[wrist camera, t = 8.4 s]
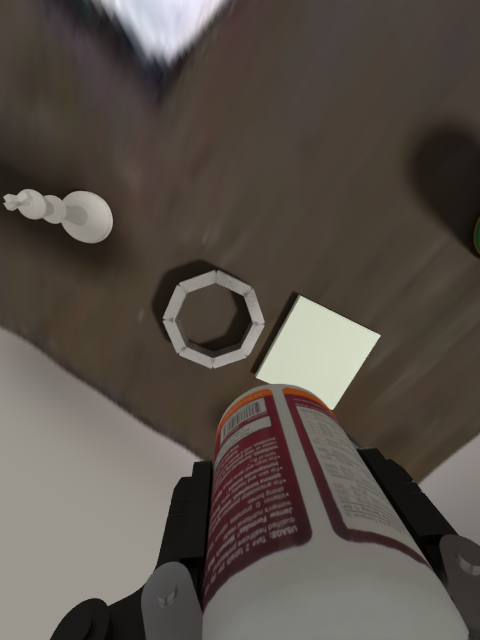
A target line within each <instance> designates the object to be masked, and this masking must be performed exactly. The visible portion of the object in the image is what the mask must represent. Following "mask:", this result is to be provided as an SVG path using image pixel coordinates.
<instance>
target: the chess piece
mask: <svg viewBox="0 0 480 640" xmlns="http://www.w3.org/2000/svg"><path fill="white" fill-rule="evenodd" d="M3 198H4V199H5V200H6V202H5V203H3V204H4V205H5V207H6V208H7V210H11V211H13V210H15V209H17V208H18V209H19V211H20V212H21V213H22V214H23V215H24V216H25V217H27V218H30V219H40V218H44V219H45V220H46V221H48V222H50V223H54V224H57V223H60V222H61V223H62V225H63V227H64V229H65V230H66V231H67V232H68V233H69V234H70V235H71V236H72V237H73V238H75V239H77V240H79V241H82V242H85V243H97V242H100V241H102V240H104V239H105V238H106V237H107V236H108V235H109V233H110V232H111V229H112V225H113V218H112V213H111V210H110V208H109V206H108V205H107V203H106V202H105V201H104V200H103V199H102V198H101V197H99V196H98V195H96V194H94V193H91V192H86V191H76V192H72V193H70V194H69V195H67V196H66V197H65V198H64V199H63V201H62V200H61V199H60V198H58V197H56V196H53V195H47V196H42V195H41V194H40V193H39V192H37V191H35V190H32V189H25V190H22V191H21V192H20V193H19V194H18V195H17V196H15V195H12V194H7V195H6V196H4V197H3Z"/></svg>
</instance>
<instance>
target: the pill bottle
mask: <svg viewBox="0 0 480 640" xmlns="http://www.w3.org/2000/svg"><path fill="white" fill-rule="evenodd" d="M200 607H201V611H202V614H203V628H202V640H470V639H469V635H468V634H470V633H469V631H468V629H467V627H466V625H465V623H464V621H463V619H462V617H461V615H460V613H459V611H458V610H457V608H456V606H455V605H454V603H453V602H452V600H451V598H450V596H449V595H448V593H447V591H446V589H445V587H444V586H443V584H442V582H441V581H440V580H439V578H438V577H437V575H436V574H435V572H434V571H433V569H432V568H431V566H430V565H429V563H428V562H427V560H426V558H425V557H424V555H423V554H422V552H421V551H420V549H419V548H418V546H417V544H416V543H415V541H414V540H413V538H412V537H411V535H410V534H409V532H408V531H407V529H406V527H405V526H404V524H403V523H402V521H401V520H400V518H399V517H398V515H397V513H396V512H395V510H394V509H393V507H392V506H391V504H390V502H389V501H388V499H387V498H386V496H385V495H384V493H383V491H382V490H381V488H380V487H379V485H378V484H377V482H376V480H375V479H374V477H373V476H372V474H371V473H370V471H369V470H368V468H367V466H366V465H365V463H364V462H363V460H362V459H361V457H360V455H359V454H358V452H357V451H356V449H355V448H354V446H353V445H352V443H351V441H350V440H349V438H348V437H347V435H346V433H345V432H344V430H343V429H342V427H341V426H340V424H339V423H338V421H337V419H336V418H335V416H334V415H333V413H332V412H331V410H330V409H329V408H328V406H327V405H326V404H325V403H324V402H323V401H322V400H321V399H320V398H319V397H317V396H316V395H315V394H313V393H312V392H310V391H308V390H306V389H304V388H301V387H298V386H295V385H288V384H269V385H264V386H259V387H256V388H253V389H251V390H249V391H247V392H246V393H244V394H243V395H241V396H240V397H238V398H237V399H236V400H235V401H234V402H233V403H232V404H231V405H230V406H229V407H228V408H227V410H226V411H225V413H224V414H223V416H222V418H221V421H220V423H219V426H218V429H217V434H216V440H215V451H214V465H213V474H212V487H211V498H210V509H209V520H208V532H207V545H206V557H205V568H204V577H203V586H202V598H201V606H200Z"/></svg>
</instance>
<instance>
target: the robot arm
mask: <svg viewBox="0 0 480 640" xmlns="http://www.w3.org/2000/svg"><path fill="white" fill-rule="evenodd" d="M356 451H357V452H358V454H359V455H360V457H361V459H362V460H363V462H364V463H365V465H366V466H367V468H368V470H369V471H370V473H371V474H372V476H373V477H374V479H375V480H376V482H377V484H378V485H379V487H380V488H381V490H382V491H383V493H384V495H385V496H386V498H387V499H388V501H389V502H390V504H391V506H392V507H393V509H394V510H395V512H396V513H397V515H398V517H399V518H400V520H401V521H402V523H403V524H404V526H405V527H406V529H407V531H408V532H409V534H410V535H411V537H412V538H413V540H414V541H415V543H416V544H417V546H418V548H419V549H420V551H421V552H422V554H423V555H424V557H425V558H426V560H427V562H428V563H429V565H430V566H431V568H432V569H433V571H434V572H435V574H436V575H437V577H438V578H439V580H440V581H441V582H442V584H443V586H444V587H445V589H446V591H447V593H448V595H449V596H450V598H451V600H452V602H453V603H454V605H455V606H456V608H457V610H458V611H459V613H460V615H461V617H462V619H463V621H464V623H465V625H466V627H467V629H468V631H469V633H470V634H468V635H469V639H470V640H480V546H479V545H477V544H476V543H474V542H473V541H471V540H469V539H467V538H464V537H462V536H459V535H458V534H457V533H456V531H455V530H454V529H453V528H452V526H451V525H450V524H449V523H448V522H447V520H446V519H445V518H444V517H443V516H442V514H441V513H440V512H439V511H438V509H437V508H436V507H435V506H434V505H433V503H432V502H431V501H430V500H429V499H428V497H427V496H426V495H425V494H424V493H423V492H422V490H421V489H420V487H419V486H418V485H417V484H416V483H414V480H413V479H412V478H411V476H410V475H409V474H408V473H407V472H406V470H405V469H404V468H402V467H401V466H400V465H398V464H397V463H396V462H394V461H393V460H391V459H390V460H386V459H385V458H384V457H383V455H382V454H381V453H380V452H379V450H378V449H377V448H376V447H368V448H357V449H356ZM212 474H213V466H212V461H200V462H194V465H193V472H192V476H191V477H182V478H181V479H180V480H179V482H178V484H177V485H176V486H175V488H174V491H173V495H172V499H171V505H170V509H169V513H168V514H169V515H168V517H167V522H166V526H165V531H164V535H163V540H162V544H161V548H160V553H159V557H158V561H157V565H156V567H155V570H154V572H153V573H152V574H151V576H150V577H149V578H148V580H147V582H146V583H145V584H144V585H143V586H142V587H141V588H140V589H139V590H137V591H136V592H135V593H133V594H131V595H130V596H128V597H126V598H124V599H122V600H120V601H118V602H116V603H114V604H112V605H110V606H107V604H106V603H105V602H104V601H103V600H101V599H97V598H92V599H88V600H85V601H83V602H81V603H80V604H78V605H77V606H76V607H74V608H73V609H72V610H71V611H70V612H69V613H67V615H66V616H65V617H64V618H63V619H62V621H61V622H60V623H59V625H58V627H57V628H56V630H55V631H54V633H53V635H52V637H51V639H50V640H202V628H203V614H202V611H201V607H200V606H201V598H202V586H203V577H204V568H205V557H206V545H207V532H208V520H209V509H210V498H211V487H212Z"/></svg>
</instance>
